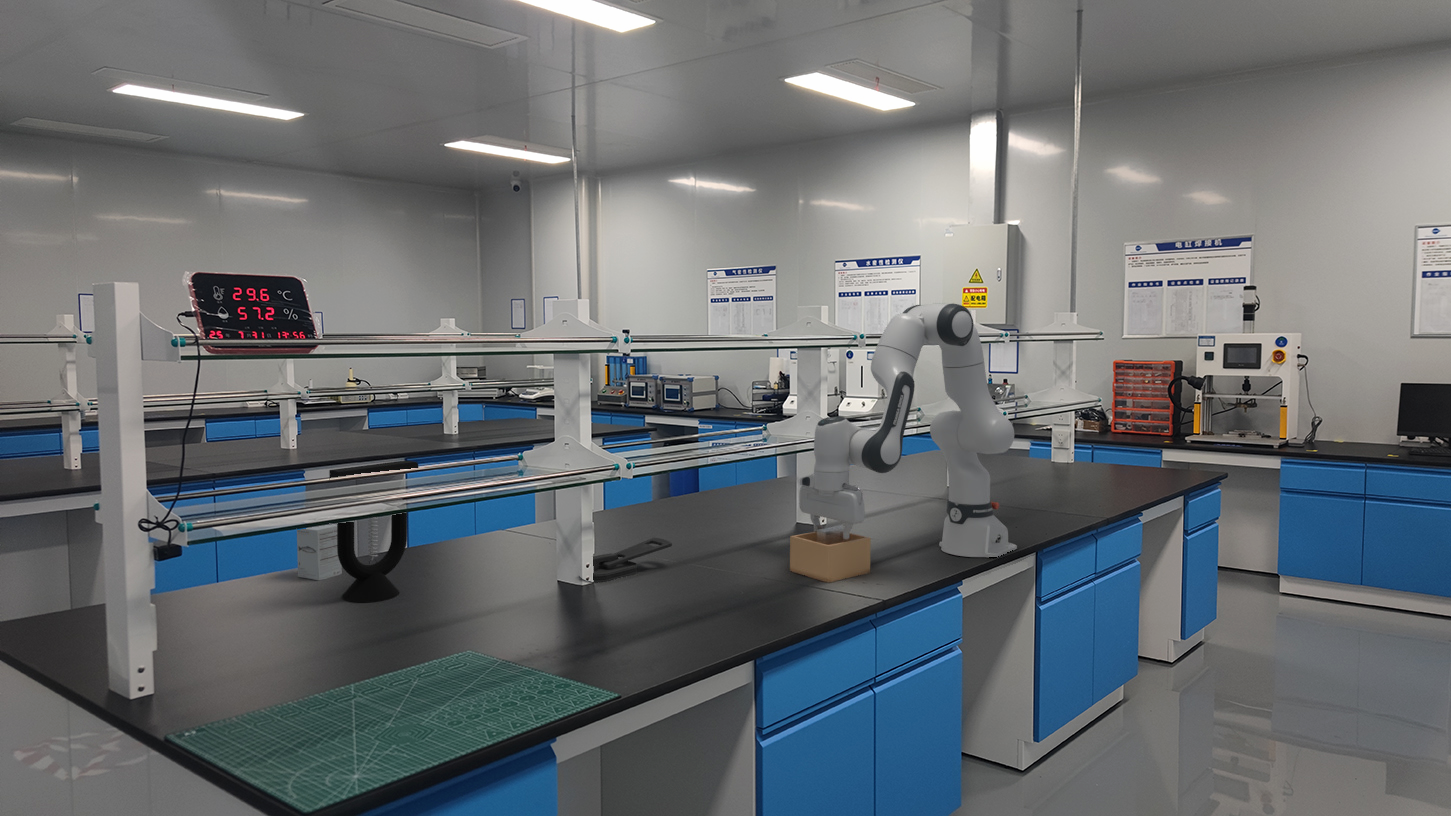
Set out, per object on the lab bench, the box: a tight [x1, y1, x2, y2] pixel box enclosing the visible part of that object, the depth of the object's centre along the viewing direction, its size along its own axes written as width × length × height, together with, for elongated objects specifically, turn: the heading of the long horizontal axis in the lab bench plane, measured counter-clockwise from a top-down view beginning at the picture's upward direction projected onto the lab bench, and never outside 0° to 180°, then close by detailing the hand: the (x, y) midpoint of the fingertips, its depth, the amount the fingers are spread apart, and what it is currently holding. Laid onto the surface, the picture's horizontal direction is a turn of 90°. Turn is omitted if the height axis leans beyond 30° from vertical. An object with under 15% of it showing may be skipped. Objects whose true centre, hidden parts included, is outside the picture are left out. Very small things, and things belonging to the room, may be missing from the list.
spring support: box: [328, 459, 419, 603], centre depth 206 cm, size 21×12×30 cm, turn 147°
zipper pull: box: [592, 537, 673, 584], centre depth 227 cm, size 9×7×25 cm
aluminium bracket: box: [817, 525, 848, 545], centre depth 229 cm, size 8×6×10 cm
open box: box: [789, 531, 872, 584], centre depth 227 cm, size 15×14×9 cm
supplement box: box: [296, 523, 343, 582], centre depth 221 cm, size 7×7×13 cm
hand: (831, 535), depth 227 cm, fingers open, 8 cm apart
